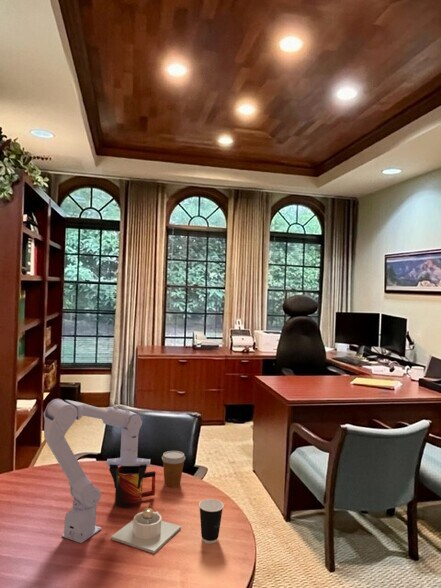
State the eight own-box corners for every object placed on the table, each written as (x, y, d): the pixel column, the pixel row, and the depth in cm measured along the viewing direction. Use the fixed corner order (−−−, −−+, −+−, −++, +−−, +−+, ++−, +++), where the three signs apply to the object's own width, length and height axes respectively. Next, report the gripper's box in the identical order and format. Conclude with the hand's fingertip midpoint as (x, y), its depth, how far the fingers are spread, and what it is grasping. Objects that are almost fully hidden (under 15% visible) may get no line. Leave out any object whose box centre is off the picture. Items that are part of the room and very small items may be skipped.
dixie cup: (223, 546, 135) (224, 510, 135) (197, 546, 135) (199, 510, 135) (221, 532, 143) (222, 499, 143) (196, 532, 142) (198, 498, 143)
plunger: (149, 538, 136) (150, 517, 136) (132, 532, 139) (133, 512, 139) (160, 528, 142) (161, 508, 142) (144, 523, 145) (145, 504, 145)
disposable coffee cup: (157, 481, 180) (159, 451, 180) (179, 477, 184) (180, 449, 184) (164, 490, 172) (166, 460, 172) (187, 487, 176) (188, 457, 176)
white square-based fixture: (154, 553, 130) (155, 536, 130) (110, 539, 136) (111, 522, 136) (181, 528, 144) (181, 513, 144) (140, 516, 151) (141, 502, 151)
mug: (155, 498, 165) (156, 466, 165) (126, 511, 154) (128, 477, 154) (138, 490, 171) (139, 459, 171) (109, 502, 160) (110, 469, 160)
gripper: (151, 443, 155) (149, 481, 155) (109, 443, 153) (107, 481, 153) (150, 450, 148) (148, 490, 148) (106, 450, 146) (104, 490, 146)
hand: (127, 486), depth 150 cm, fingers open, 7 cm apart
